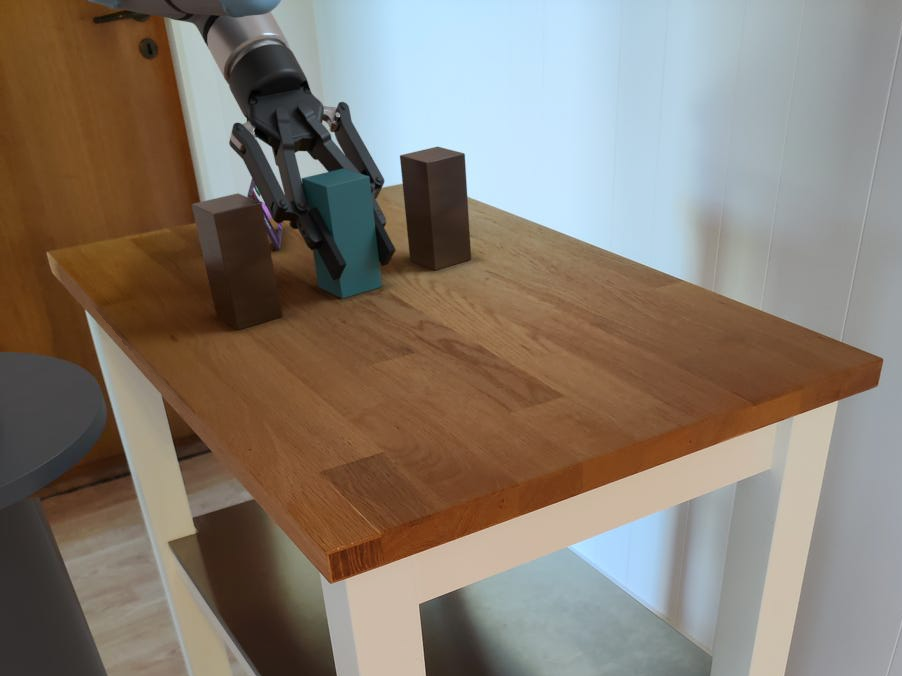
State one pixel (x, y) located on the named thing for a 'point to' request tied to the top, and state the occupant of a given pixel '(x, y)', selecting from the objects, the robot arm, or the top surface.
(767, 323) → the top surface
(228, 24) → the robot arm
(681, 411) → the top surface
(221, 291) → the walnut block front
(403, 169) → the walnut block back
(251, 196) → the purple open frame
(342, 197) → the teal block
